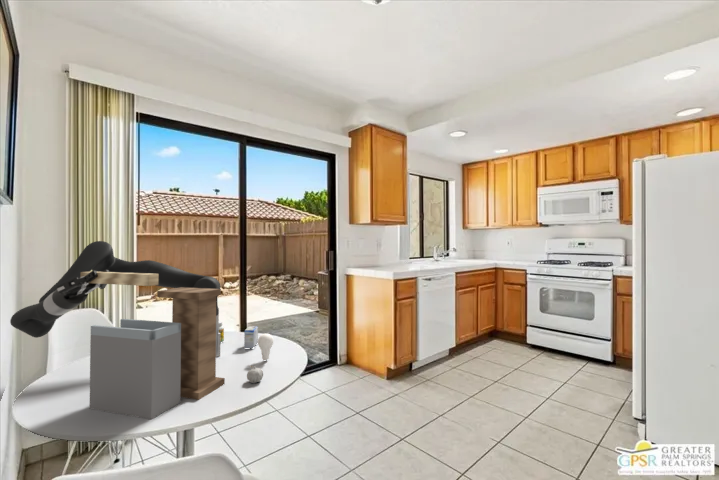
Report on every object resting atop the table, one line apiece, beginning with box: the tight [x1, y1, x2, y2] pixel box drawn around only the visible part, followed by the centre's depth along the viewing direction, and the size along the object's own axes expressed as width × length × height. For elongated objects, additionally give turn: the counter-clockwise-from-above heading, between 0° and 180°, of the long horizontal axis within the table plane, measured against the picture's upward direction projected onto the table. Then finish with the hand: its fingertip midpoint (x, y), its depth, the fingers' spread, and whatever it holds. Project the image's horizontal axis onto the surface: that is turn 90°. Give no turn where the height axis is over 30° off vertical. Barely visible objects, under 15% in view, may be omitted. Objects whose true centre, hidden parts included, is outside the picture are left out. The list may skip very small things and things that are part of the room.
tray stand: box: [89, 318, 181, 420], centre depth 99 cm, size 22×10×24 cm, turn 75°
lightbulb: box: [257, 333, 275, 361], centre depth 136 cm, size 6×6×11 cm
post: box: [156, 287, 226, 401], centre depth 111 cm, size 18×12×32 cm, turn 75°
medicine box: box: [243, 325, 259, 349], centre depth 156 cm, size 8×4×9 cm, turn 5°
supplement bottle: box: [219, 321, 225, 344], centre depth 163 cm, size 5×5×10 cm
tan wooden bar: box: [80, 270, 159, 287], centre depth 101 cm, size 26×3×3 cm, turn 75°
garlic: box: [246, 365, 264, 384], centre depth 116 cm, size 6×5×5 cm
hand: (102, 272), depth 103 cm, fingers closed on tan wooden bar, 3 cm apart
